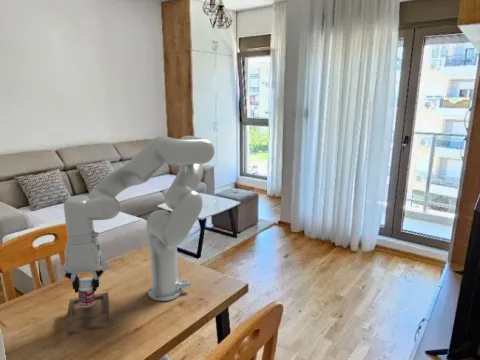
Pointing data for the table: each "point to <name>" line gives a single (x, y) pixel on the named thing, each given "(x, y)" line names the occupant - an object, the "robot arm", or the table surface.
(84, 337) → the table surface
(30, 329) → the table surface
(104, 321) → the walnut tray
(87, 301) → the pill bottle
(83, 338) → the table surface
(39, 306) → the table surface
